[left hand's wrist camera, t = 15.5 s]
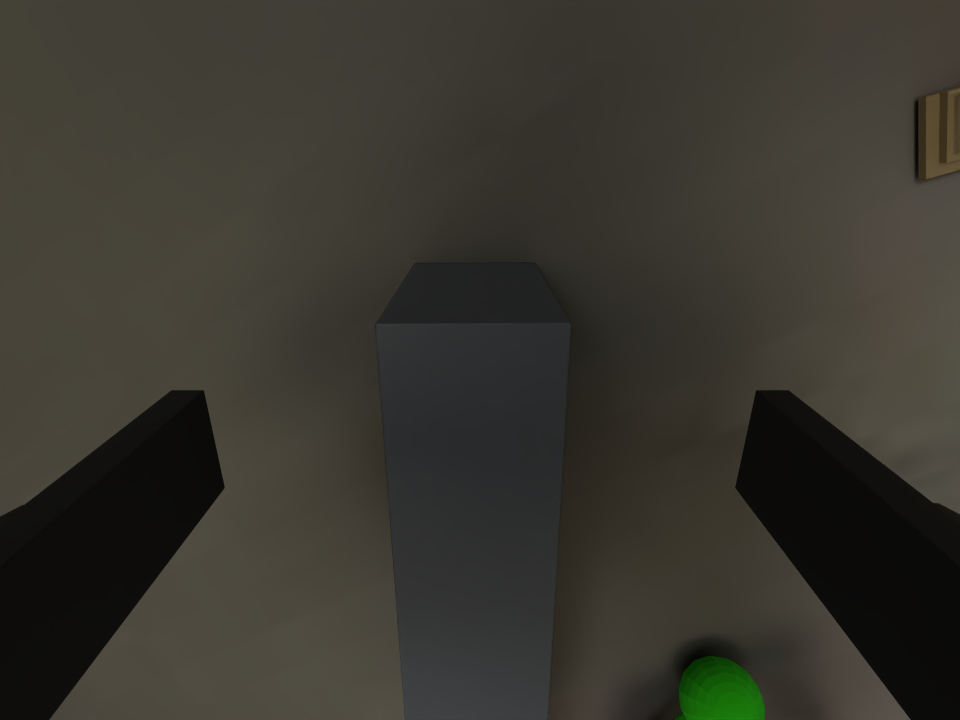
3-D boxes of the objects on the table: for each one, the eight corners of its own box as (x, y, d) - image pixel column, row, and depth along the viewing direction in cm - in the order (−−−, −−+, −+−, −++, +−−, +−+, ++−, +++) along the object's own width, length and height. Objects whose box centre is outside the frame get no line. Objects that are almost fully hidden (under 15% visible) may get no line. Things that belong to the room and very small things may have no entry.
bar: (414, 262, 20) (374, 323, 12) (535, 262, 20) (571, 322, 12) (435, 702, 28) (418, 904, 21) (521, 701, 28) (537, 904, 21)
